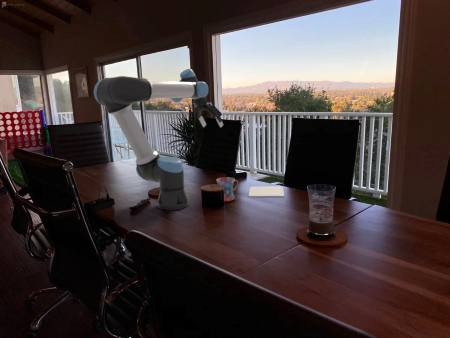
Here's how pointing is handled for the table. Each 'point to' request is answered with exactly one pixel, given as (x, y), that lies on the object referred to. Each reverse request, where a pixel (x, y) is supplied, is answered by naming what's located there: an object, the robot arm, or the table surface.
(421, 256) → the table surface
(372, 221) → the table surface
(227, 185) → the mug
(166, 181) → the robot arm
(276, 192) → the placemat
